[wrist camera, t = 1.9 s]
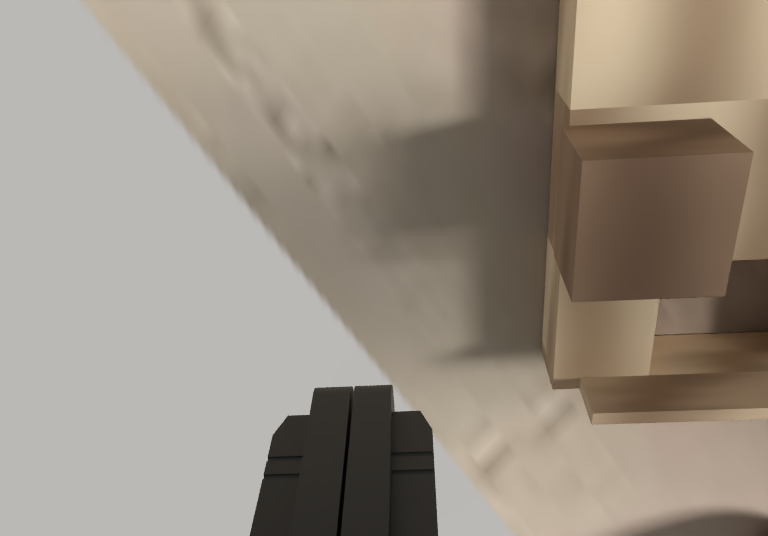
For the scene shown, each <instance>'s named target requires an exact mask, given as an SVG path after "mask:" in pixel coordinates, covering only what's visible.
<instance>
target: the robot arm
mask: <svg viewBox="0 0 768 536" xmlns="http://www.w3.org/2000/svg"><path fill="white" fill-rule="evenodd" d="M435 491H436V489H435V472H434V453H433V435H432V428H431V427H430V425H429V424H428V422H427V421H426V419H425V418H424V416H423V414H422V413H421V411H404V412H395V411H394V397H393V387H392V385H376V386H355V388H354V390H353V387H330V388H329V387H327V388H315V389H314V393H313V398H312V404H311V410H310V415H297V416H296V415H295V416H288V417H287V418H286V419H285V420H284V422H283V423H282V424H281V425H280V427H279V428H278V429H277V430H276V432H275V433H274V434H273V437H272V441H271V446H270V450H269V454H268V461H267V463H266V467H265V472H264V479H263V480H262V484H261V489H260V493H259V498H258V502H257V506H256V511H255V515H254V519H253V524H252V528H251V532H250V536H438V528H437V509H436V492H435Z"/></svg>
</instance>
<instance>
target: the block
mask: <svg viewBox="0 0 768 536" xmlns="http://www.w3.org/2000/svg"><path fill="white" fill-rule="evenodd" d="M753 154H754V152H753V151H752V150H751V149H749V148H748V147H747V146H745V145H744V144H743V143H742V142H740V141H739V140H738V139H737V138H735V137H734V136H733V135H732V134H730V133H729V132H728V131H727V130H725V129H724V128H723V127H722V126H720V125H719V124H718V123H717V122H715V121H714V120H713V119H712V118H704V119H686V120H668V121H650V122H632V123H614V124H596V125H577V126H561V136H560V154H559V171H558V189H557V206H556V223H555V241H554V258H555V260H556V263H557V265H558V268H559V271H560V273H561V276H562V278H563V281H564V284H565V286H566V289H567V291H568V294H569V297H570V299H571V302H572V303H573V302H598V301H622V300H646V299H671V298H695V297H720V296H725V295H726V290H727V285H728V280H729V275H730V270H731V264H732V259H733V254H734V249H735V244H736V239H737V234H738V229H739V224H740V219H741V214H742V209H743V204H744V199H745V194H746V189H747V184H748V179H749V174H750V169H751V164H752V159H753Z"/></svg>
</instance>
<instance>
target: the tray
mask: <svg viewBox="0 0 768 536" xmlns="http://www.w3.org/2000/svg"><path fill="white" fill-rule="evenodd" d="M704 118H712V119H713V120H714V121H715V122H717V123H718V124H719V125H720V126H722V127H723V128H724V129H725V130H727V131H728V132H729V133H730V134H732V135H733V136H734V137H735V138H737V139H738V140H739V141H740V142H742V143H743V144H744V145H745V146H747V147H748V148H749V149H751V150H752V151H753V152H754V154H753V159H752V164H751V169H750V174H749V179H748V184H747V189H746V194H745V199H744V204H743V209H742V214H741V219H740V224H739V229H738V234H737V239H736V244H735V249H734V254H733V259H732V260H755V259H768V0H560V4H559V24H558V43H557V62H556V82H555V101H554V120H553V139H552V159H551V178H550V197H549V217H548V236H547V255H546V275H545V294H544V313H543V333H542V353H543V357H544V360H545V364H546V368H547V371H548V375H549V378H550V382H551V385H552V389H574V388H580V391H581V394H582V397H583V400H584V403H585V406H586V409H587V412H588V415H589V418H590V421H591V424H592V425H593V424H625V423H657V422H689V421H722V420H754V419H768V332H743V333H716V334H690V335H664V336H654V335H655V328H656V321H657V315H658V308H659V301H660V299H646V300H622V301H598V302H573V303H572V302H571V299H570V297H569V294H568V291H567V289H566V286H565V284H564V281H563V278H562V276H561V273H560V271H559V268H558V265H557V263H556V260H555V258H554V241H555V223H556V206H557V189H558V171H559V154H560V136H561V126H577V125H596V124H614V123H632V122H650V121H668V120H686V119H704Z"/></svg>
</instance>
